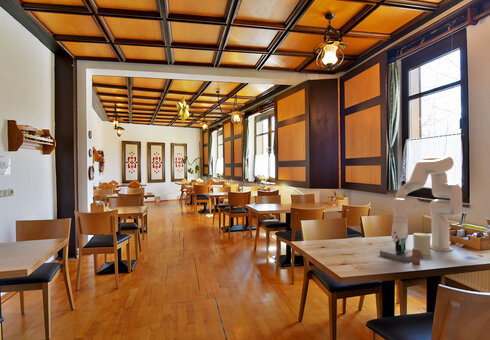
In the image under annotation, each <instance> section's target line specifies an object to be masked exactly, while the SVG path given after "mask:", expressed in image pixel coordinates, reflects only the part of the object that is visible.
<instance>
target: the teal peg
mask: <svg viewBox="0 0 490 340" xmlns="http://www.w3.org/2000/svg"><path fill="white" fill-rule="evenodd" d="M397 239H398V238H397ZM398 241H399V240H398ZM397 252H399V251H397ZM399 253H404V239H401V252H399Z"/></svg>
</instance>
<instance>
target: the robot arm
mask: <svg viewBox="0 0 490 340" xmlns="http://www.w3.org/2000/svg"><path fill="white" fill-rule="evenodd" d="M453 166H454V159H453V158H452V157H451V156H449V155H445V156H443V155H441V156H426V157H424V158H423V159H422V160H419V161H418V162H416V164H415V165H414V168H413V171H412V173H411V175H410V178H409V180H408V181H407V182H406V183H404V184H403V185H401V187H399V188H398V190H397V191H396V194H395V195H394V198H393V200H392V225H391V239H392V241H393V242H394V244H395V247H396V251H399V252H401V239H404V251H405V249H406V244H407V243H406V242H407V240H408V238H409V225H408V211H417V210H418V209H420V207H421V203H420V202H421V201H420V200H419V199H418V198H416V197H407V196H408V194H409V193H412V192H413V191H418V190H419V189H422V188H424V187H425V184H426V182H427V181H428V180H427V179H428V177H429V176H430V179H431V194H432V195H433V197H435V198H440V199H433V200H431V202H430V203H429V210H430V217H431V243H430V250H431V249H432V250H436V251H442V252H450V251H453V247H451V246H450V245H451V243H452V241H450V221H449V220H450V219H449V218H448V217H447V216H450V217H459V216H460V215H461V214H462V213H463V191H462V187H461V186H460V185H459V184H457V183H454V182H453V183H452V182H450V183H449V182H448V175H447V173H446V172H447V171H449V170H451V169H452V168H453ZM441 198H442V199H441ZM447 199H449V200H447ZM397 238H398V239H397ZM398 240H399V241H398Z"/></svg>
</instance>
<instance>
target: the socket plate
mask: <svg viewBox="0 0 490 340" xmlns="http://www.w3.org/2000/svg"><path fill="white" fill-rule="evenodd" d="M379 257H383V258H387V259H391V260H395V261H398V262H403V263H406V264H407V263H410V262H411V263H412V249H407V248H405V251H404V253H399V252H397V251H396V246H392V247H388V248H385V249H381V250H379ZM422 258H423V255H422V253H421V252H420V259H422Z"/></svg>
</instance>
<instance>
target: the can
mask: <svg viewBox="0 0 490 340" xmlns="http://www.w3.org/2000/svg"><path fill="white" fill-rule="evenodd" d="M412 234H413V235H412V237H413V245H412V246H413V248H416V249H420V252H421V253H422V256H431V248H430V245H431V237H432V234H428V233H423V232H413V233H412Z"/></svg>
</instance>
